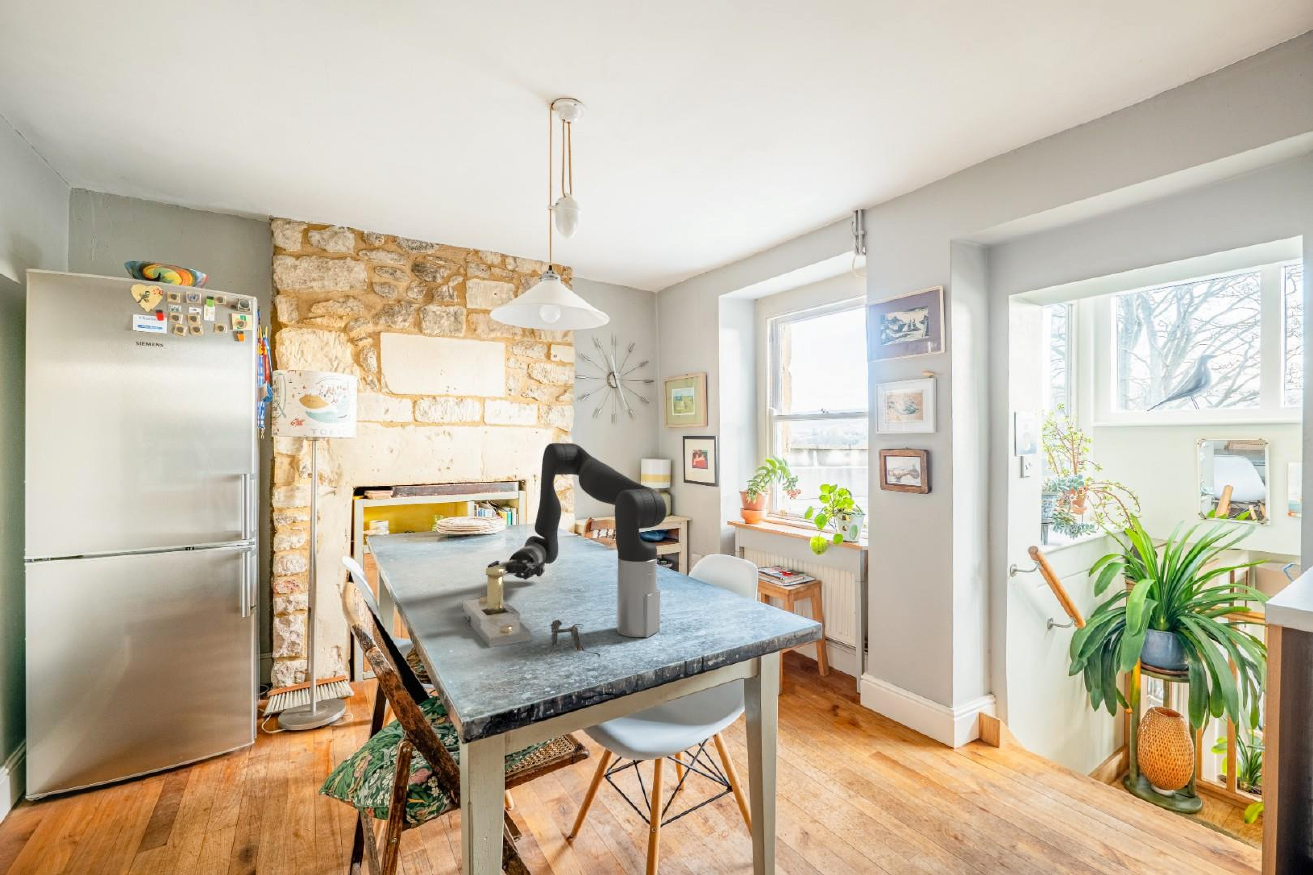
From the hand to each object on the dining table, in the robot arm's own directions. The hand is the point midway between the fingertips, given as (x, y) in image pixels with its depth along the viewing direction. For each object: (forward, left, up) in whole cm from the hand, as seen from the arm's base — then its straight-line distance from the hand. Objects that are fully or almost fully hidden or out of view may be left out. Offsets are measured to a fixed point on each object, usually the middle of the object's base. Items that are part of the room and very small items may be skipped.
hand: (508, 575), depth 147 cm
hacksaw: (-25, +6, -11) cm, 28 cm away
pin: (-4, +9, -10) cm, 14 cm away
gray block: (-4, +9, -10) cm, 14 cm away
